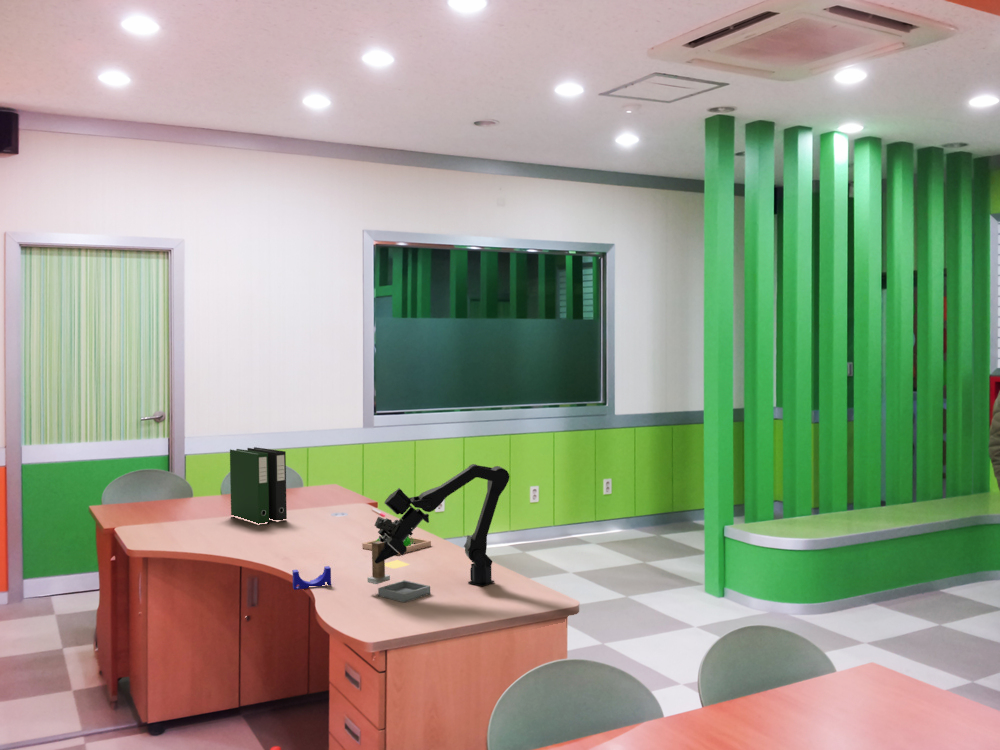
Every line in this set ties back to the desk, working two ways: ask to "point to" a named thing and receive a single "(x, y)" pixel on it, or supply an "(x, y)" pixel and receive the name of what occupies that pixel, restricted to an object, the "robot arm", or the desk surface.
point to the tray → (404, 591)
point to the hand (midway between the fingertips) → (374, 561)
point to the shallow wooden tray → (418, 545)
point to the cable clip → (316, 582)
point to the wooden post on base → (378, 565)
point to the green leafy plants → (405, 541)
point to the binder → (258, 484)
